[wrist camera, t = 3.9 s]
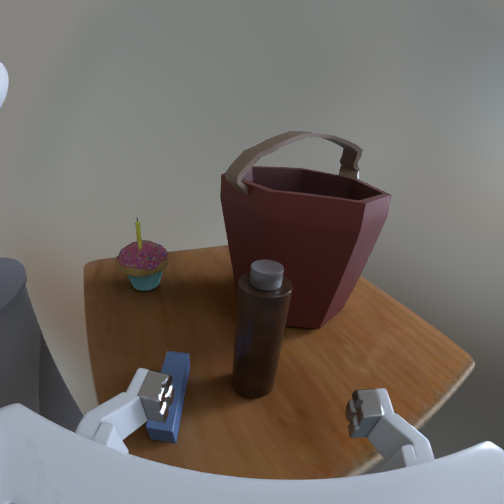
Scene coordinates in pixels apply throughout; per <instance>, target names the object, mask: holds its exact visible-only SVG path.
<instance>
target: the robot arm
mask: <svg viewBox="0 0 504 504" xmlns="http://www.w3.org/2000/svg"><path fill="white" fill-rule="evenodd" d="M8 85H9V79H8V73H7V70H6V68H5V66H4V65H3V64H2V63H1V62H0V108H1V106H2V104H3V102H4V100H5V98H6V94H7V91H8ZM171 383H172V375H169V374H164V373H160V372H156V371H152V370H148V369H144V368H139V369H138V370H137V371H136V373H135V375H134V377H133V379H132V381H131V383H130V385H129V387H128V389H127V391H126V393H125V392H122V393H120V394H119V395H117V396H115V397H113V398H111V399H110V400H108V401H106V402H104V403H103V404H101V405H99V406H97V407H96V408H93V409H92V410H90V411H88V412H86V413H85V415H84V416H83V418H82V420H81V422H80V424H79V425H78V427H77V429H76V431H75V433H74V432H72V431H70V430H68V429H66V428H63V427H61V426H59V425H57V424H55V423H54V422H52V421H50V420H48V419H46V418H44V417H42V416H41V415H39V414H37V413H35V412H34V411H32V410H30V409H29V408H27V407H25V406H24V405H22V404H19V403H14V404H10V405H7V406H4V407H2V408H0V504H504V450H502V449H501V448H499V447H498V446H497V445H495V444H494V443H492V442H490V441H485V442H482V443H480V444H477V445H475V446H473V447H470V448H468V449H465V450H463V451H459V452H457V453H454V454H451V455H448V456H445V457H442V458H438V459H435V458H434V455H433V452H432V449H431V446H430V443H429V440H428V439H427V438H426V437H424V436H423V435H422V434H421V433H420V432H418V431H417V430H416V429H415V428H414V427H412V426H411V425H410V424H409V423H407V422H406V421H405V420H404V419H403V418H401V417H400V416H399V415H398V414H395V413H394V410H393V407H392V404H391V401H390V398H389V396H388V393H387V390H386V389H385V388H383V389H364V390H355V391H354V392H353V394H352V399H351V400H349V401H348V404H347V407H346V418H347V420H348V421H349V422H350V424H349V426H348V429H349V435H350V438H355V437H366V438H367V439H368V440H369V441H370V442H371V443H372V445H373V446H374V447H375V448H376V449H377V450H378V452H379V453H380V454H381V455H382V456H383V457H384V458H385V460H386V461H387V462H386V463H385V464H384V465H383V466H382V467H381V468H380V469H379V473H374V474H368V475H360V476H352V477H343V478H331V479H314V480H271V479H254V478H242V477H233V476H224V475H217V474H210V473H204V472H199V471H193V470H188V469H183V468H179V467H174V466H170V465H166V464H162V463H158V462H154V461H150V460H147V459H143V458H140V457H137V456H134V455H130V454H128V452H129V451H128V449H127V447H126V445H125V444H124V442H123V441H122V440H123V439H125V438H126V437H127V436H128V435H130V434H131V433H132V432H134V431H135V430H136V429H137V428H139V427H140V426H141V425H143V424H144V423H145V422H146V421H148V419H149V420H153V421H158V422H162V423H166V420H167V417H168V414H169V409H168V407H169V406H170V405H172V402H173V398H174V386H173V385H172V384H171Z"/></svg>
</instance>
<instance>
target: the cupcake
mask: <svg viewBox="0 0 504 504" xmlns="http://www.w3.org/2000/svg"><path fill="white" fill-rule="evenodd" d="M135 224H136V234H137V242H132V243H131V244H129V245H128V246H126V247H125V248H123V249H121V251H120V253H119V255H118V256H117V265H118V267H119V269H120V270H121V271H122V272H123V273H124V274H126V275H127V276H128V278H129V280H130V282H131V284H132V286H133V287H134V288H135V289H137V290H141V291H147V290H151V289H154V288H156V287H157V286H158V285H159V283H160V279H161V275H162V271H163V269H164V268H165V267H166V266H167V265H168V256H167V255H168V253H167V251H166V249H165V248H163V246H161V245H159V244H157V243H154V242H151V241H146V240H144V241H143V240H141V231H140V222H138V218H137V222H136V223H135Z"/></svg>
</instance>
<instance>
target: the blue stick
mask: <svg viewBox="0 0 504 504" xmlns="http://www.w3.org/2000/svg"><path fill="white" fill-rule="evenodd" d="M189 372H190V360H189V353H180V352H172V351H167V354H166V357H165V361H164V364H163V367H162V370H161V373H164V374H169V375H172V383H171V384H172V385H173V386H174V398H173V402H172V405H170V406H169V407H168V409H169V414H168V417H167V420H166V423H162V422H158V421H153V420H149V419H148V421H147V424H146V429H147V431H148V434H149V436H150V438H151V439H153V440H158V441H164V442H170V443H176V442H177V436H178V430H179V425H180V419H181V414H182V408H183V403H184V397H185V392H186V387H187V382H188V377H189Z"/></svg>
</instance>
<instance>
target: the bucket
mask: <svg viewBox="0 0 504 504" xmlns="http://www.w3.org/2000/svg"><path fill="white" fill-rule="evenodd" d="M307 137H321V138H324V139H327V140H329V141H332V142H334V143H336V144H338V145H339V146H341V147H343V148H344V150H343V155H342V157H341V159H340V163H341V167H340V172H339V175H334V174H330V173H324V172H319V171H313V170H309V169H303V168H288V167H262V166H261V167H260V166H253V165H254V164H255V163H256V162H257V161H258V160H259V159H260V158H261V157H263V156H265V155H268V154H270V153H272V152H274V151H276V150H278V149H279V148H281V147H283V146H285V145H288V144H290V143H293V142H295V141H298V140H301V139H304V138H307ZM361 154H362V149H361V148H360V147H358V146H357V145H356V144H354V143H352V142H349V141H347V140H345V139H342V138H339V137H336V136H332V135H325V134H318V133H312V132H301V131H290V132H287V133H284V134H281V135H278V136H275V137H273V138H270V139H268V140H265V141H263V142H261V143H260V144H258V145H257V146H254V147H252V148H249V149H247V150H244V151H243V153H242V154H241V155H240V156H239V157H238V158H237V159H236V160H235V161H234V163H232V165H231V166H230V167H229V168H228V170H227V171H226V173H224V174H222V175H221V203H222V209H223V216H224V222H225V228H226V233H227V239H228V245H229V251H230V257H231V263H232V268H233V274H234V280H235V285H236V291H237V296H238V281H239V278H240V277H241V276H242V275H244V274H245V273H248V272H251V264H252V263H253V262H254V261H257V260H272V261H276V262H278V263H280V264H281V265H282V266H283V267H284V272H283V276H285V277H286V278H288V279H289V280H290V281H291V283H292V293H291V299H290V304H289V310H288V315H287V320H286V326H292V327H304V328H318V329H320V328H321V327H322V326H323V325H324V324H325V323H326V322H328V321H329V320H330V319H331V318H332V317H333V316H334V315H335V314H336V313H338V312H339V311H340V310H341V309H342V308H343V307H344V306H345V304H346V302H347V300H348V298H349V296H350V294H351V292H352V290H353V289H354V287H355V285H356V283H357V281H358V279H359V277H360V275H361V273H362V271H363V269H364V267H365V264H366V262H367V260H368V258H369V256H370V254H371V252H372V250H373V248H374V245H375V243H376V241H377V239H378V236H379V234H380V232H381V230H382V227H383V225H384V223H385V220H386V218H387V215H388V211H389V206H390V201H391V195H390V194H388V193H386V192H384V191H382V190H380V189H378V188H375V187H373V186H371V185H369V184H367V183H364V182H362V181H360V180H358V178H359V168H358V165H357V163H358V161H359V159H360V157H361Z"/></svg>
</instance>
